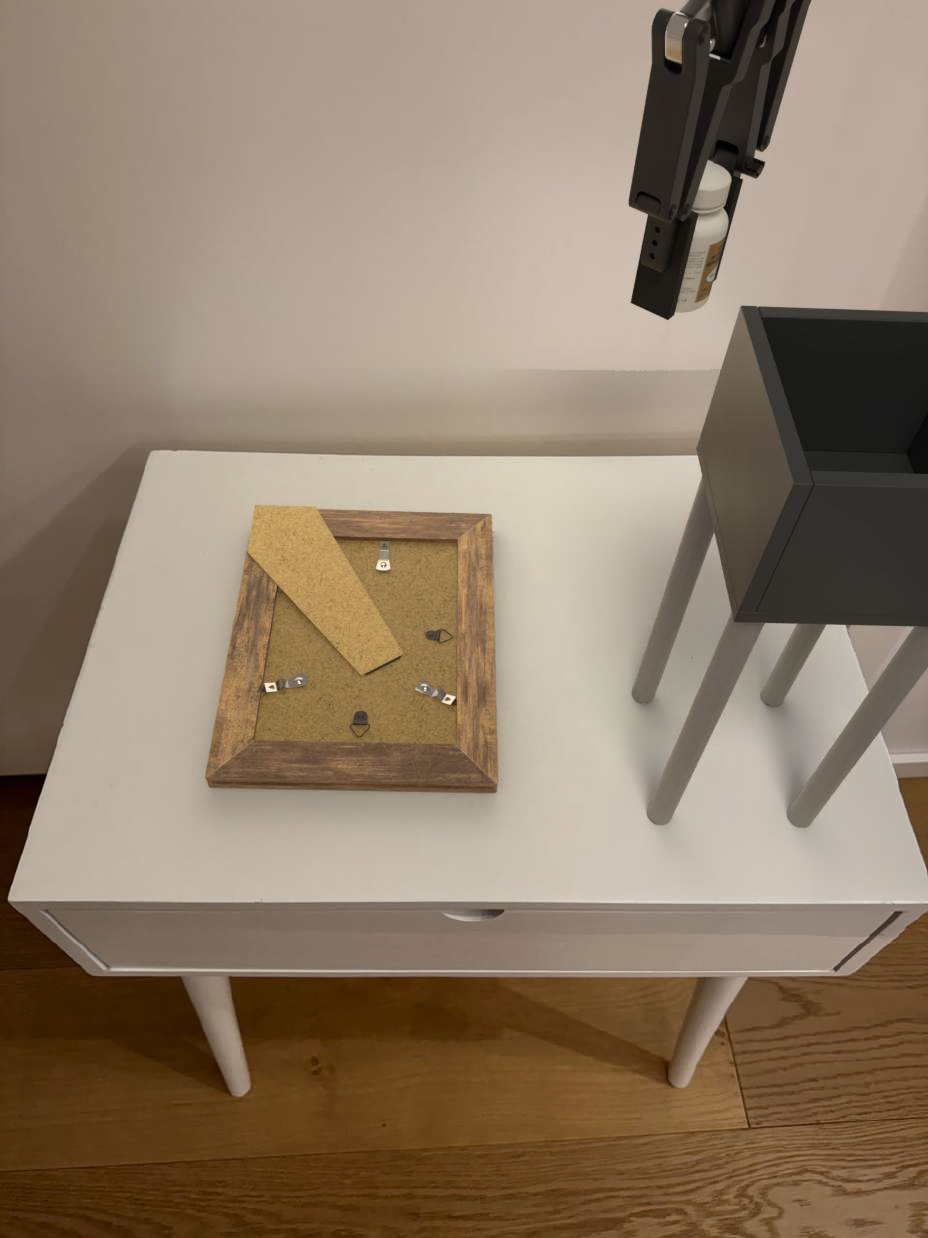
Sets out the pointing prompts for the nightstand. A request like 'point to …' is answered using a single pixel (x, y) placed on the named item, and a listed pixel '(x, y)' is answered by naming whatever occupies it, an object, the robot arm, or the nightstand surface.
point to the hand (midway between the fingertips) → (674, 289)
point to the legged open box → (806, 519)
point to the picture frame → (361, 655)
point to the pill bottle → (705, 238)
